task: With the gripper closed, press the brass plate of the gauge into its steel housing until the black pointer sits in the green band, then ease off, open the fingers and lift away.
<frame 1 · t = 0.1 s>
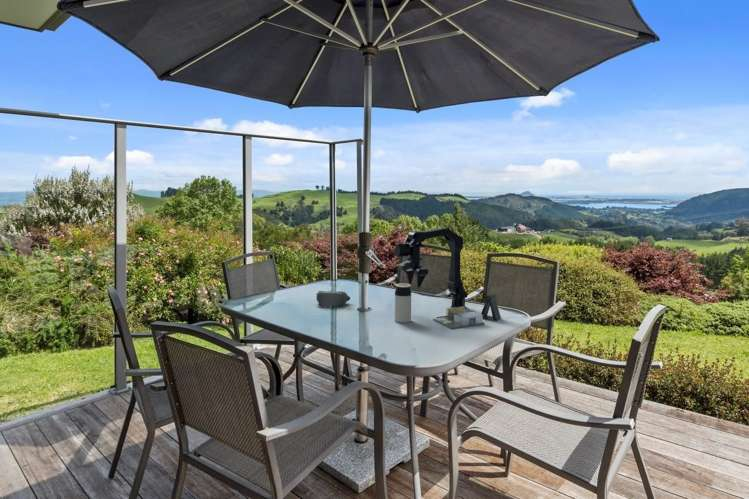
hand: (414, 285, 225), 15 cm above the table, tool pointing down, fingers open, 9 cm apart
phone stand: (490, 318, 218), on the table
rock: (331, 304, 245), on the table
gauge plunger: (454, 314, 213), point 3 cm above the table, slide at 0.0 cm
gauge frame: (463, 322, 211), on the table
travel mug: (402, 321, 213), on the table
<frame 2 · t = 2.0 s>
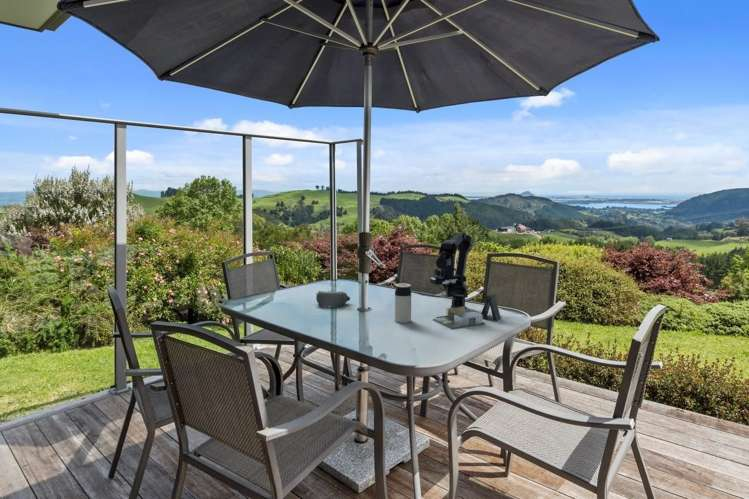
hand: (447, 296, 223), 10 cm above the table, tool pointing down, fingers closed
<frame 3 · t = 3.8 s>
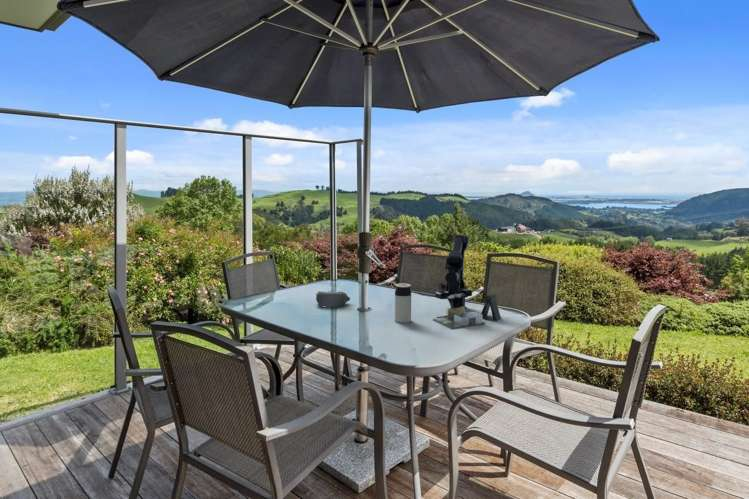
hand: (453, 310, 219), 4 cm above the table, tool pointing down, fingers closed, pressing on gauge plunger
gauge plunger: (454, 314, 213), point 3 cm above the table, slide at 0.1 cm, touching gripper
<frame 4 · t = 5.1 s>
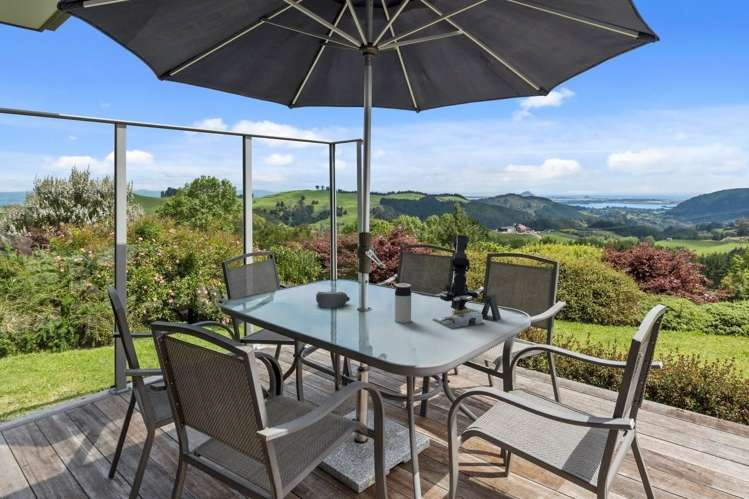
hand: (458, 312, 214), 4 cm above the table, tool pointing down, fingers closed, pressing on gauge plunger
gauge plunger: (460, 316, 209), point 3 cm above the table, slide at 4.9 cm, touching gripper
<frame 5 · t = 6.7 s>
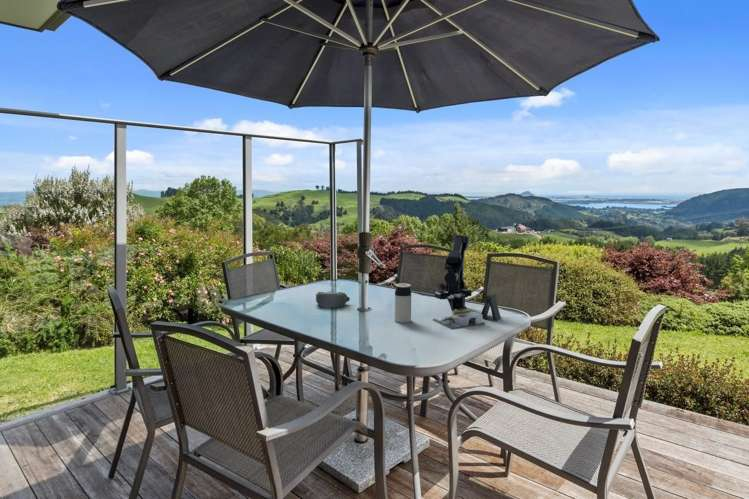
hand: (452, 310, 219), 3 cm above the table, tool pointing down, fingers closed
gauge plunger: (460, 316, 209), point 3 cm above the table, slide at 4.9 cm
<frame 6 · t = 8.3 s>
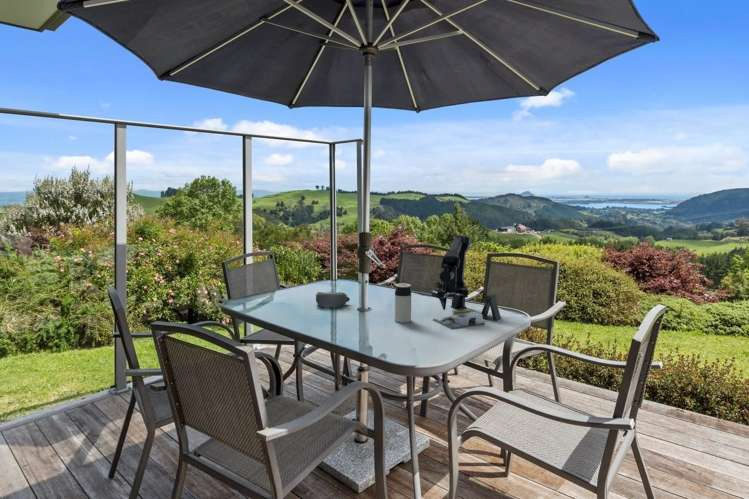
hand: (449, 309, 222), 4 cm above the table, tool pointing down, fingers open, 7 cm apart
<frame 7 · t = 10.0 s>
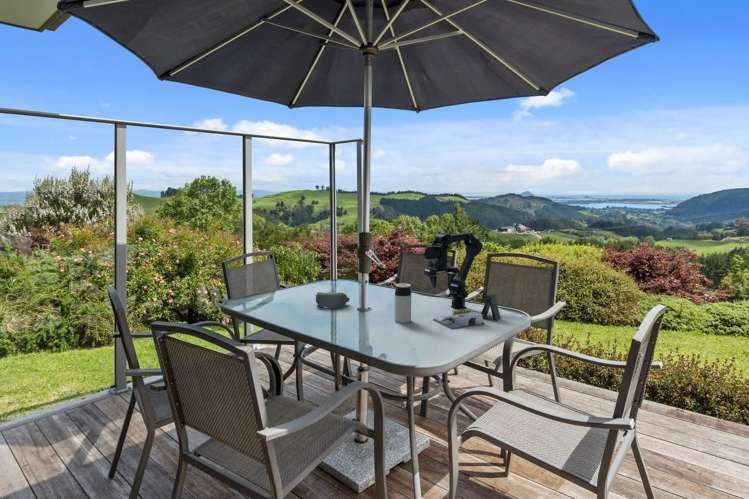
hand: (441, 287, 229), 13 cm above the table, tool pointing down, fingers open, 9 cm apart
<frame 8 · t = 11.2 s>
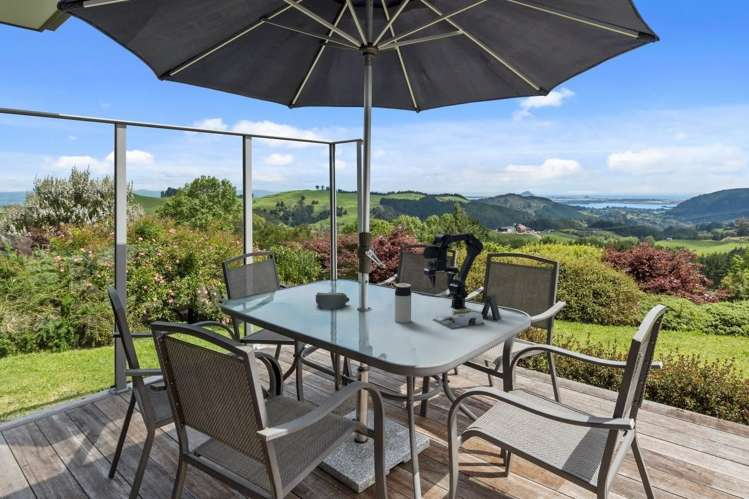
hand: (440, 286, 230), 13 cm above the table, tool pointing down, fingers open, 9 cm apart
at the end: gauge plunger slide at 4.9 cm; the gripper is holding nothing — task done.
